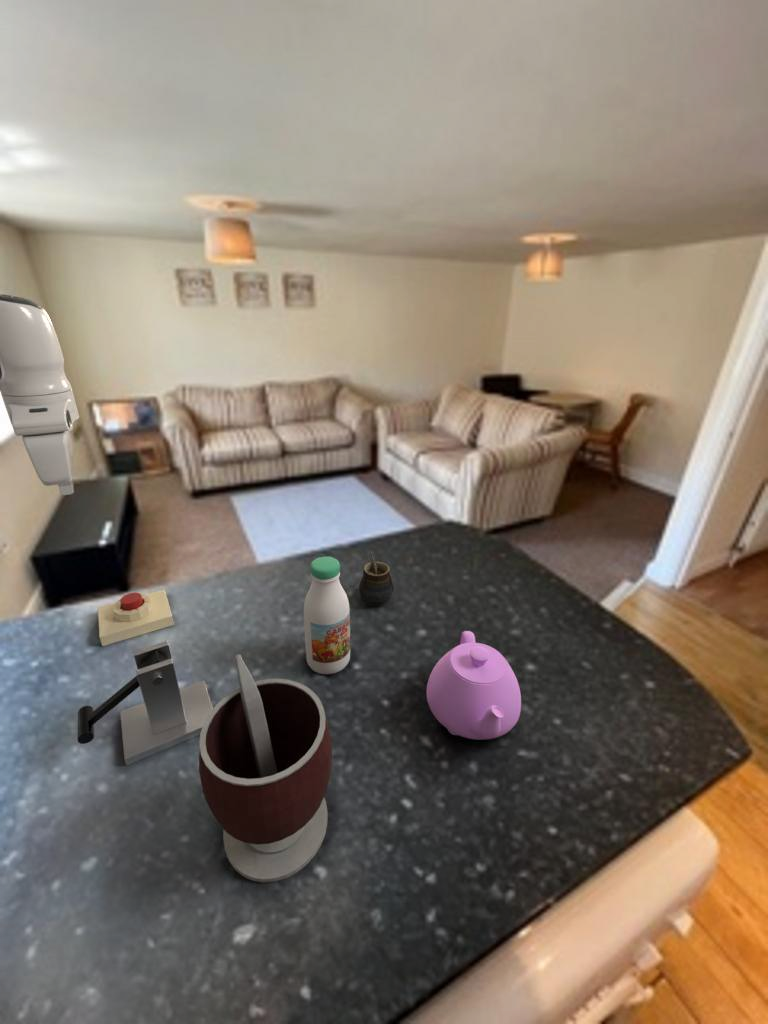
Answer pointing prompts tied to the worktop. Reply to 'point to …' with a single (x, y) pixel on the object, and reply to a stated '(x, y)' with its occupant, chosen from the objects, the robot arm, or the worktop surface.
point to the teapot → (474, 691)
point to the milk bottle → (326, 619)
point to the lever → (109, 703)
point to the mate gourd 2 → (376, 583)
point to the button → (131, 601)
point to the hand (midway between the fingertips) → (68, 491)
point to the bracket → (162, 708)
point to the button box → (134, 618)
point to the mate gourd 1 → (267, 774)
